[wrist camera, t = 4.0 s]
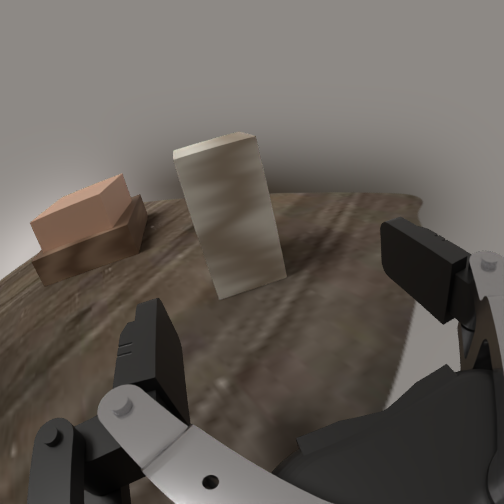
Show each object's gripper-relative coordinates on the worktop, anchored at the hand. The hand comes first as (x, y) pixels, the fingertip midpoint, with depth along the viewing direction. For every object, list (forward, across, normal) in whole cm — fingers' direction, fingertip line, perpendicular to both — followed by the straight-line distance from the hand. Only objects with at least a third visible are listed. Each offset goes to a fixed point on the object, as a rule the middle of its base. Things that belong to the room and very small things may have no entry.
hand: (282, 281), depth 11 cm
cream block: (+12, 0, -6) cm, 14 cm away
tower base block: (+30, -16, -7) cm, 34 cm away
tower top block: (+29, -16, -3) cm, 34 cm away
